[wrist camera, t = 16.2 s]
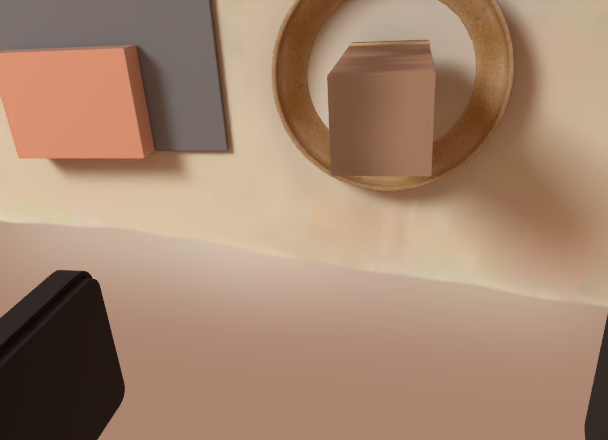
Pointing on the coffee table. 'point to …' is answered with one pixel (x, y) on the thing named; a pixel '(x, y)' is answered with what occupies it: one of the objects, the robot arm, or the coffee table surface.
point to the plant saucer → (446, 151)
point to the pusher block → (382, 109)
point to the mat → (140, 56)
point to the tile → (76, 102)
